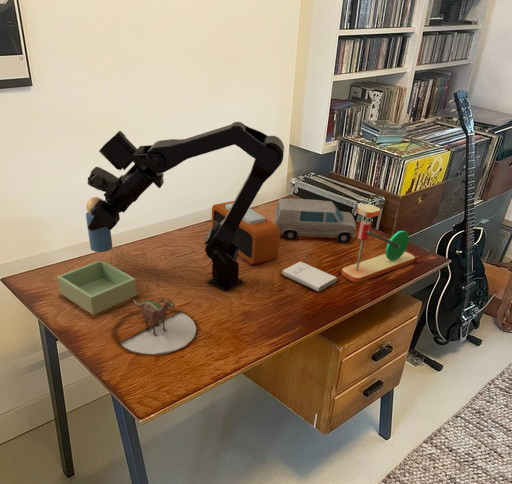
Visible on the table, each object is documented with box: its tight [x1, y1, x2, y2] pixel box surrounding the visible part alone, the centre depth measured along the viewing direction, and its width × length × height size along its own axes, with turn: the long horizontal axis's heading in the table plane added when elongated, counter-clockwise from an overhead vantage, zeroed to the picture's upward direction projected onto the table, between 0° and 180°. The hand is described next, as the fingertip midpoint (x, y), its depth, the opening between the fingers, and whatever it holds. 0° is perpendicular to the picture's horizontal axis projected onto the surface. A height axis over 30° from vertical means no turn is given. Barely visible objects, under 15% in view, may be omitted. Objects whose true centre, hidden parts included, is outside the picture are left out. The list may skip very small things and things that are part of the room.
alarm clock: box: [211, 200, 281, 265], centre depth 152 cm, size 24×8×11 cm, turn 34°
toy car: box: [273, 198, 357, 244], centre depth 162 cm, size 11×25×10 cm, turn 89°
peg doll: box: [85, 196, 113, 253], centre depth 130 cm, size 5×5×13 cm
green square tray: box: [56, 259, 138, 315], centre depth 127 cm, size 14×13×6 cm
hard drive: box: [281, 261, 338, 293], centre depth 142 cm, size 2×8×12 cm
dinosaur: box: [118, 298, 197, 356], centre depth 115 cm, size 18×18×11 cm
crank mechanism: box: [340, 203, 416, 283], centre depth 144 cm, size 25×7×19 cm, turn 126°
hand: (93, 224), depth 131 cm, fingers closed on peg doll, 5 cm apart
